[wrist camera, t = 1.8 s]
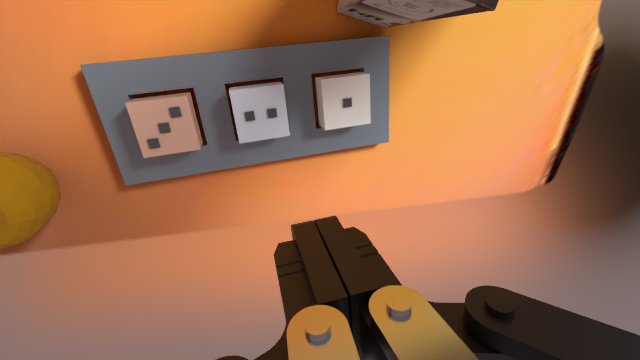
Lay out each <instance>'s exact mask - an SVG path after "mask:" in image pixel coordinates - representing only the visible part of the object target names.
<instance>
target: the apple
mask: <svg viewBox="0 0 640 360" xmlns="http://www.w3.org/2000/svg"><path fill="white" fill-rule="evenodd" d="M59 199H60V192H59V186H58V182H57V180H56V179H55V177H54V175H53V174H52V172H51V171H50V170H49V169H48V168H47V167H45V166H44V165H43V164H42V163H39V162H37V161H35V160H33V159H30V158H27V157H24V156H21V155H17V154H12V153H4V152H0V249H3V248H7V247H10V246H14V245H18V244H20V243H22V242H24V241H26V240H28V239H31V238H32V237H33V236H34V235H35V234H36V233H37V232H38V231H39V230H40V229H41V228H43V227H44V226H45V225H46V224H47V223H48V222H49V221H50V219H51V218H52V216H53V215H54V214H55V212H56V210H57V207H58V203H59Z"/></svg>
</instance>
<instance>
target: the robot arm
mask: <svg viewBox="0 0 640 360" xmlns="http://www.w3.org/2000/svg"><path fill="white" fill-rule="evenodd" d="M291 231H292V237H293V240H292V241H287V242H283V243H279V244H278V246H277V248H276V251H275V253H274V258H275V264H276V269H277V275H278V280H279V286H280V291H281V297H282V302H283V307H284V312H285V318H286V327H285V330H284V333H283V335H282V336H281V338H280V340H279V341H278V342H277V343H276V345H274V346H273V347H272V348H271V349H270V350H268V351H267V352H266V353H264V354H262V355H261V356H259V357H258V358H256V359H255V360H640V336H639V335H636V334H634V333H631V332H628V331H625V330H622V329H619V328H616V327H613V326H610V325H607V324H605V323H602V322H599V321H596V320H593V319H590V318H587V317H585V316H582V315H579V314H576V313H573V312H570V311H567V310H564V309H561V308H559V307H555V306H553V305H550V304H547V303H544V302H541V301H538V300H536V299H533V298H530V297H527V296H524V295H521V294H518V293H515V292H512V291H510V290H507V289H504V288H500V287H495V286H480V287H476V288H473V289H472V290H470V291H469V292H468V293H467V295H466V298H465V303H434V302H429V301H427V300H426V299H425V298H424V297H423V296H422V295H421V294H420V293H418V292H417V291H415V290H413V289H411V288H408V287H405V286H402V285H401V283H400V282H399V281H398V279H397V278H396V276H395V275H394V274H393V272H392V271H391V269H390V268H389V266H388V265H387V264H386V262H385V261H384V259H383V258H382V257H381V255H380V254H378V251H377V249H376V248H375V247H374V246H373V245H372V243H371V241H370V240H369V238H368V237H367V236H366V234H365V233H363V232H361V231H360V230H358V229H356V228H355V227H351V228H346V229H344V228H343V227H342V225H341V223H340V222H339V220H338V218H337V217H336V216H331V217H327V218H322V219H317V220H314V222H313V221H308V222H303V223H298V224H293V225H291ZM217 360H248V359H246V358H244V357H240V356H226V357H222V358H219V359H217Z"/></svg>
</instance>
